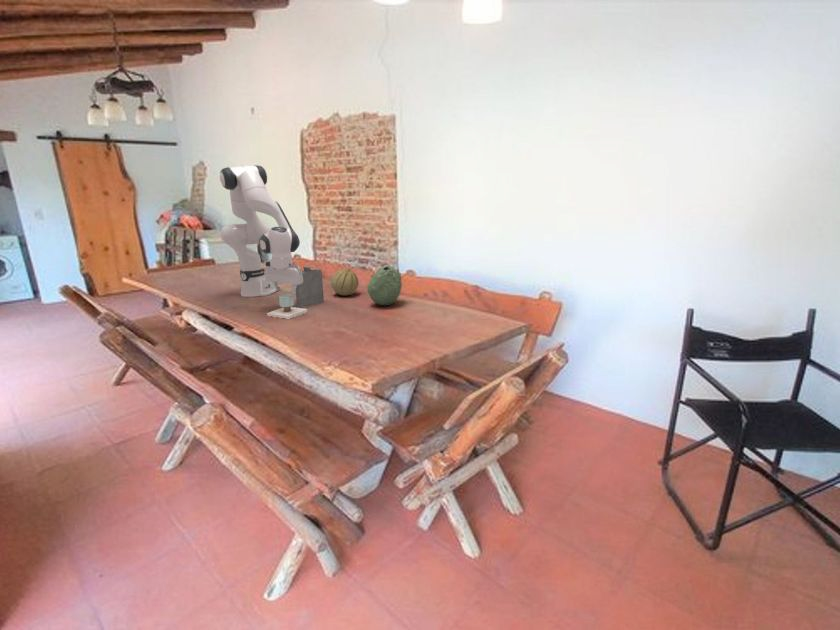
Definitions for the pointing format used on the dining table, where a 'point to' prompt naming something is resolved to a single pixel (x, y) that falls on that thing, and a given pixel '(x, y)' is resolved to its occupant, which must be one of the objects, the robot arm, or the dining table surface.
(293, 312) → the post stand
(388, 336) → the dining table surface
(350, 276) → the cantaloupe
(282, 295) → the cap
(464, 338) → the dining table surface
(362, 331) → the dining table surface
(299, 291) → the hip flask
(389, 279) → the green bumpy rounded body
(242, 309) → the dining table surface
